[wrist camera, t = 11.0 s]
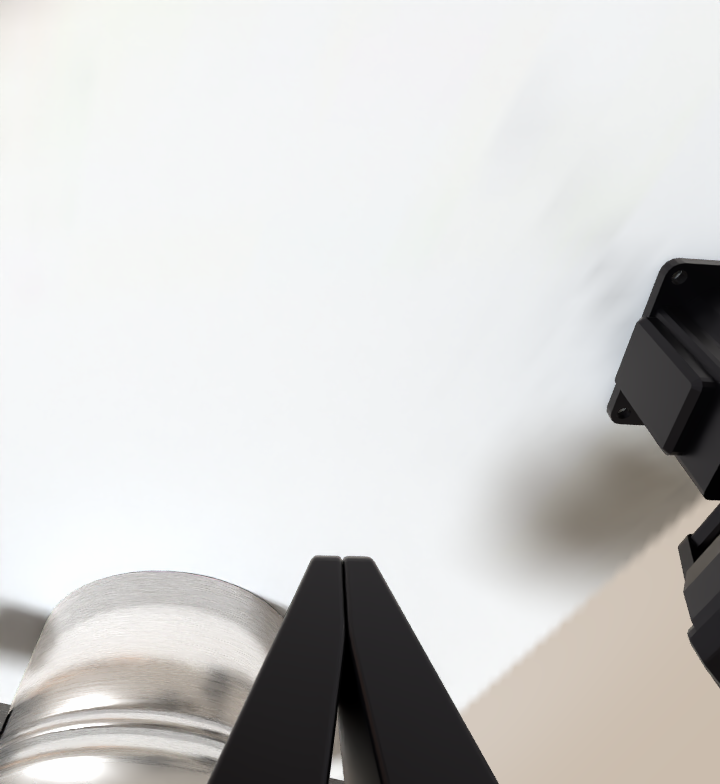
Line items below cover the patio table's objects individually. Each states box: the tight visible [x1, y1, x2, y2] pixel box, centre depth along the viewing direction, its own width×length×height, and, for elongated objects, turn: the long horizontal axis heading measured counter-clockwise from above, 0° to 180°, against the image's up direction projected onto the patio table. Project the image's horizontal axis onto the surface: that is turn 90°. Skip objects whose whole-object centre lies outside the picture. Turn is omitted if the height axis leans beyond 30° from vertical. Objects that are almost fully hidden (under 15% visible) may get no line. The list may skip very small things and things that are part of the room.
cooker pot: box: [0, 571, 345, 784], centre depth 28 cm, size 22×13×7 cm, turn 60°
